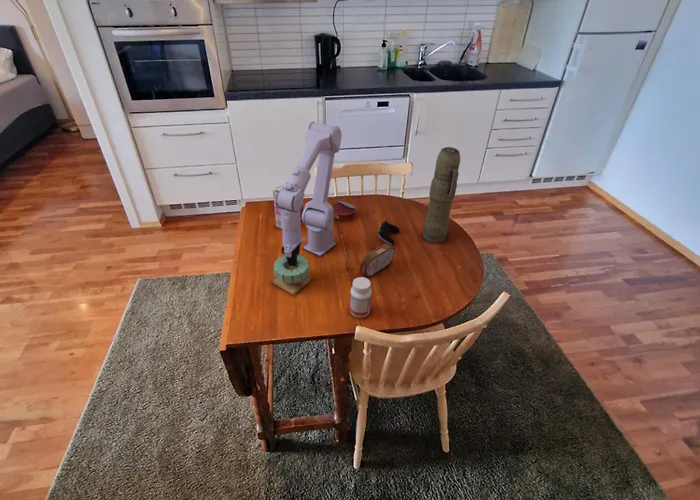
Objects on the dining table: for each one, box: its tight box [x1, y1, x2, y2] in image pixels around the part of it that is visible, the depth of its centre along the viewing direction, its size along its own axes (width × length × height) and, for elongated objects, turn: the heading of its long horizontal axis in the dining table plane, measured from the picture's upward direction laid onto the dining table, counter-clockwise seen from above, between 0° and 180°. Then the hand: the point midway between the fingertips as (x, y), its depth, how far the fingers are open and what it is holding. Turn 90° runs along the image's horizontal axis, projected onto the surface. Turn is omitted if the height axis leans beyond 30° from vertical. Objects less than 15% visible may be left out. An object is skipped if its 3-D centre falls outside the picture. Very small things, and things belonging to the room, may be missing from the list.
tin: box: [359, 243, 396, 277], centre depth 132 cm, size 15×3×8 cm, turn 134°
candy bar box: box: [272, 183, 304, 230], centre depth 151 cm, size 11×5×16 cm, turn 144°
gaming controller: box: [377, 220, 400, 246], centre depth 149 cm, size 11×4×7 cm
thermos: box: [422, 146, 461, 244], centre depth 141 cm, size 9×12×35 cm
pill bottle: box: [349, 276, 373, 319], centre depth 115 cm, size 6×6×11 cm
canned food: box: [331, 197, 356, 222], centre depth 161 cm, size 11×10×10 cm
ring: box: [273, 254, 310, 283], centre depth 125 cm, size 11×11×3 cm
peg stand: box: [271, 266, 313, 296], centre depth 126 cm, size 9×9×6 cm
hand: (293, 261), depth 128 cm, fingers closed on ring, 3 cm apart
